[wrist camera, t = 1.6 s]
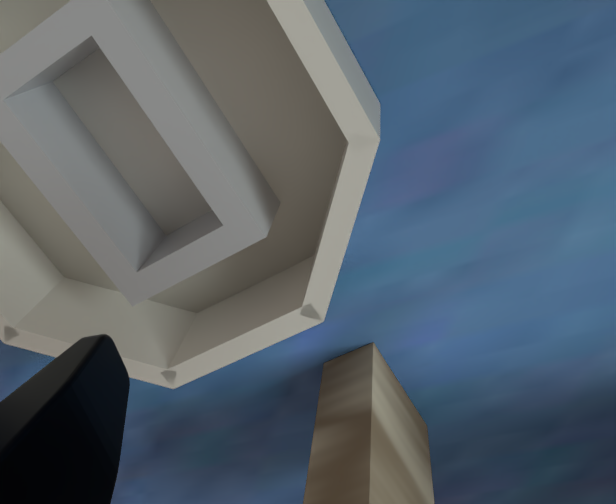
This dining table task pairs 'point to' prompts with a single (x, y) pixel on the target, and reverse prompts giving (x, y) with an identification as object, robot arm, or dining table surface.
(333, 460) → the wood grain block
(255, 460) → the dining table surface
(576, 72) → the dining table surface
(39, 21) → the octagonal boat dish
